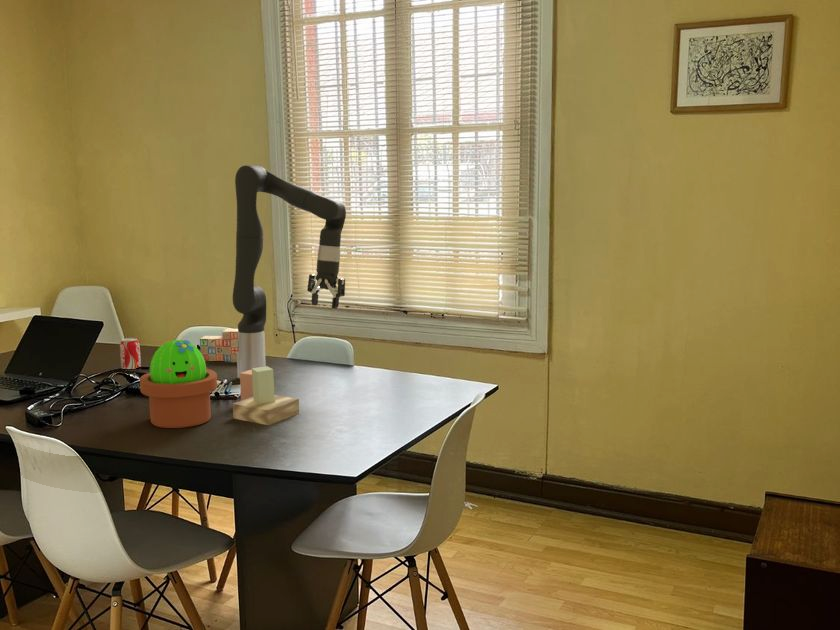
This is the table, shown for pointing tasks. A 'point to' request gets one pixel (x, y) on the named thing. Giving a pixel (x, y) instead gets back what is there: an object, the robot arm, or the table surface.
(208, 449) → the table surface
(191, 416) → the potted cactus
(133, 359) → the soda can
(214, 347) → the stack of blocks
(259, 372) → the sage-green block
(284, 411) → the birch plinth block
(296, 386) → the table surface
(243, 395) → the clay-red block
